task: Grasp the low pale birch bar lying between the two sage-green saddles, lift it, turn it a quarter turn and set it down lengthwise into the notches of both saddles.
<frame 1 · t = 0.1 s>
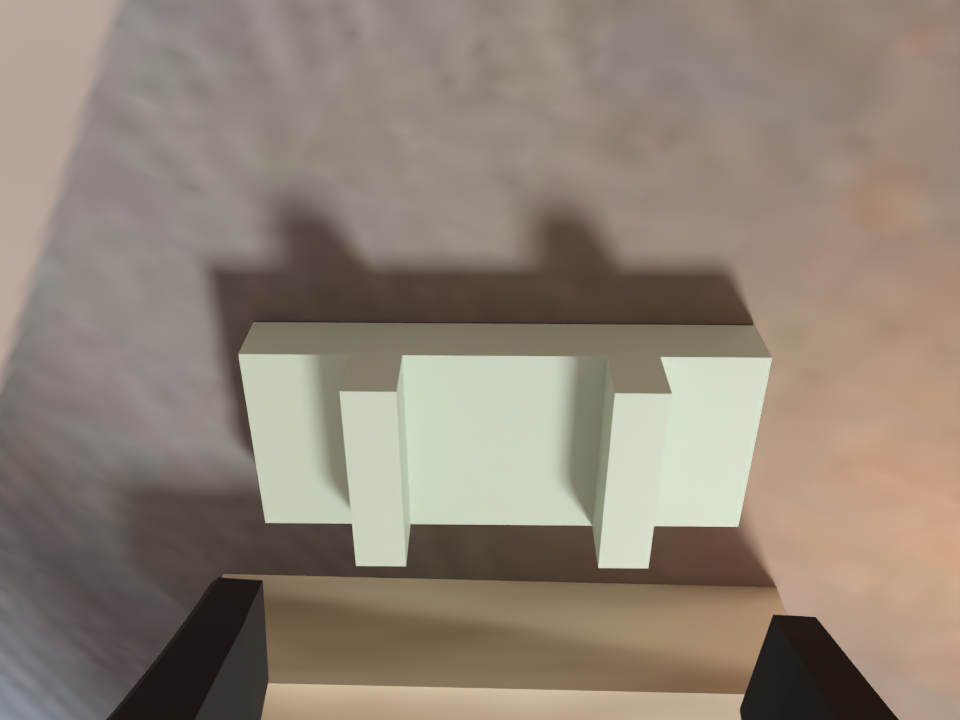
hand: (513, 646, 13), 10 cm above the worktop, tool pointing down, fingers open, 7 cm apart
bar: (498, 610, 27), on the worktop
stand: (498, 618, 27), on the worktop
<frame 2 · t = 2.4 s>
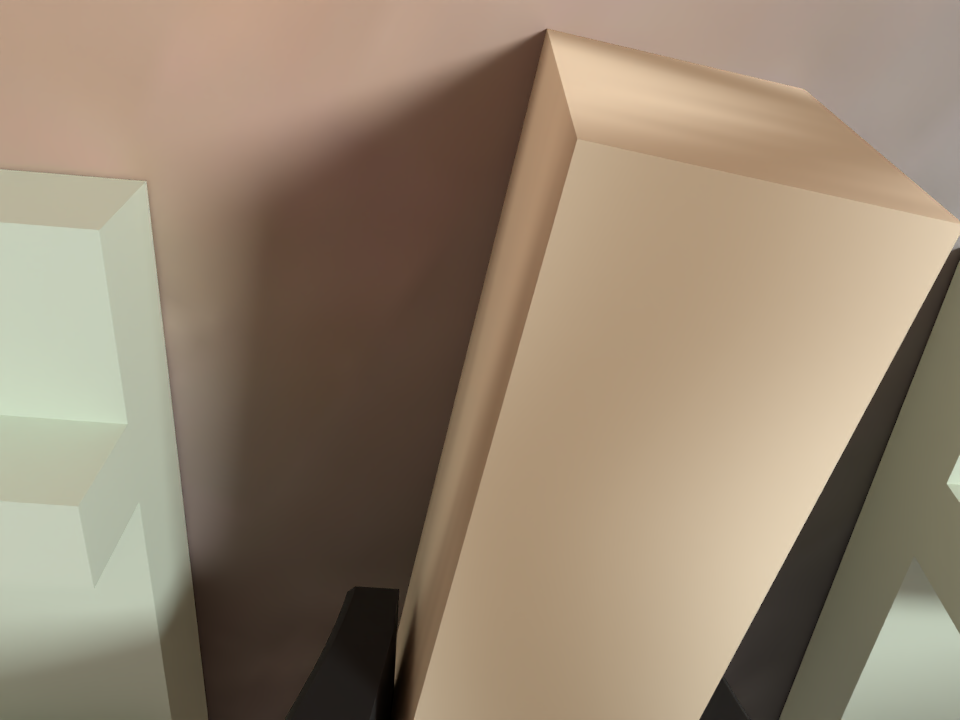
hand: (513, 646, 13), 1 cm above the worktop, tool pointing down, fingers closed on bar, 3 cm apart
bar: (510, 572, 14), on the worktop, touching gripper
stand: (512, 575, 14), on the worktop
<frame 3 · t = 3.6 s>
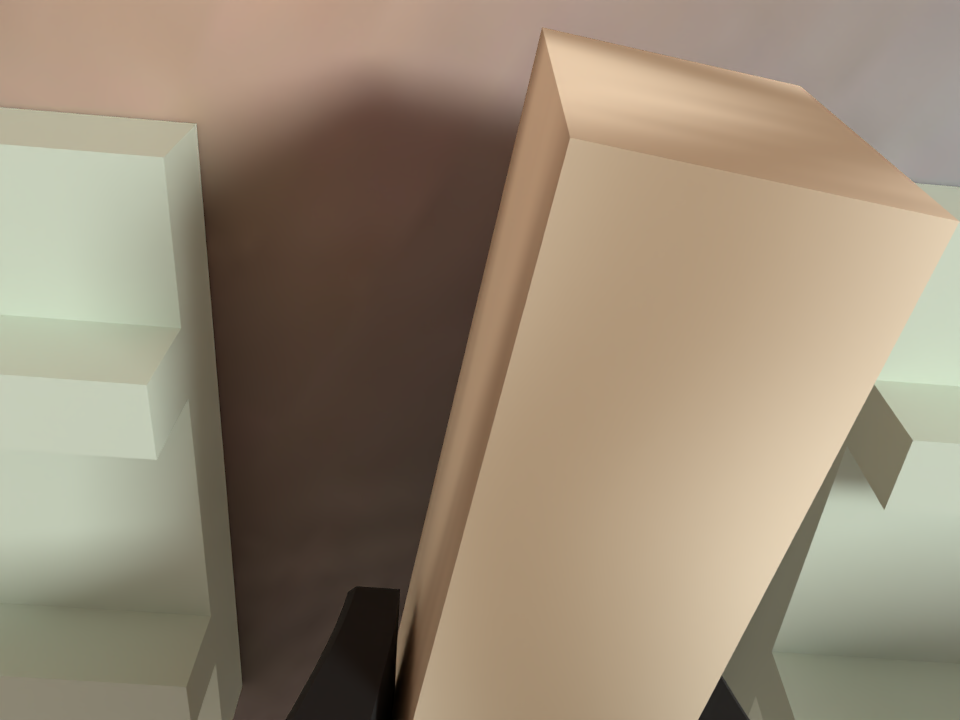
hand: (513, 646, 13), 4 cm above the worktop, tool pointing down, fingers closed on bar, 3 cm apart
bar: (510, 572, 14), point 2 cm above the worktop, touching gripper
stand: (505, 479, 16), on the worktop
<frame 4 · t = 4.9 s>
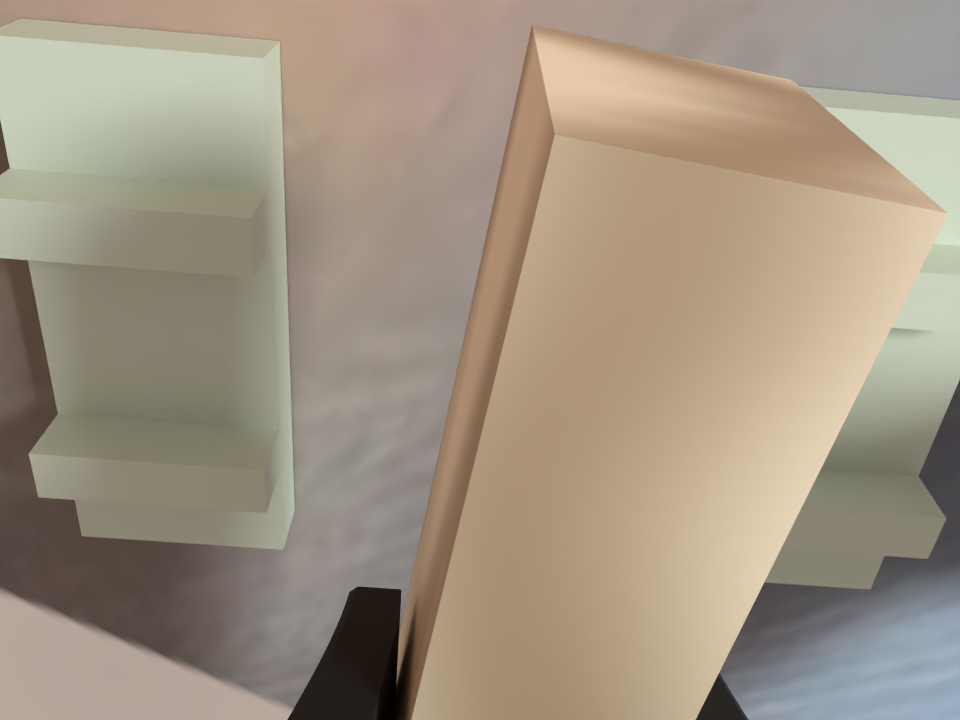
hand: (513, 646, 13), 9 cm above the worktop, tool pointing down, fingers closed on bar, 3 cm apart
bar: (510, 571, 14), point 8 cm above the worktop, touching gripper
stand: (504, 327, 21), on the worktop
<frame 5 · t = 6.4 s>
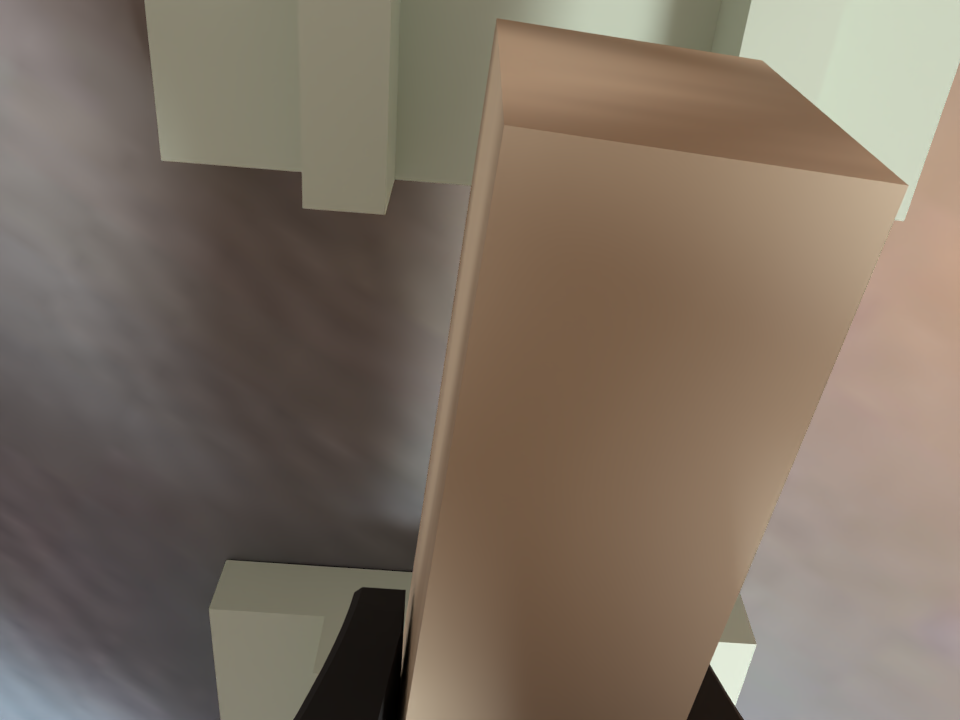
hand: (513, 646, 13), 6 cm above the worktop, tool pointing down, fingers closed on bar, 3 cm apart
bar: (510, 567, 14), point 5 cm above the worktop, touching gripper
stand: (506, 398, 18), on the worktop
when the fingers open (4 cm above the worktop, at t = 7.6 s): bar stays where it is, resting on stand.
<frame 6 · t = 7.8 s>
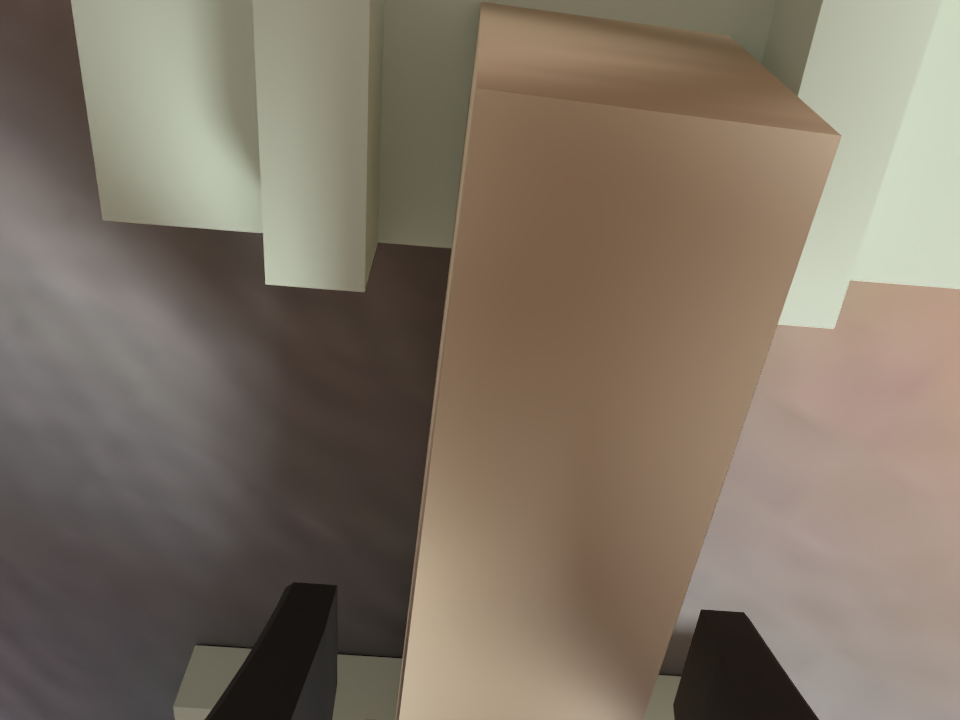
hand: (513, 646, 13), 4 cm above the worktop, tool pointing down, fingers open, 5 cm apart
bar: (510, 526, 15), point 1 cm above the worktop, touching stand
stand: (508, 475, 16), on the worktop
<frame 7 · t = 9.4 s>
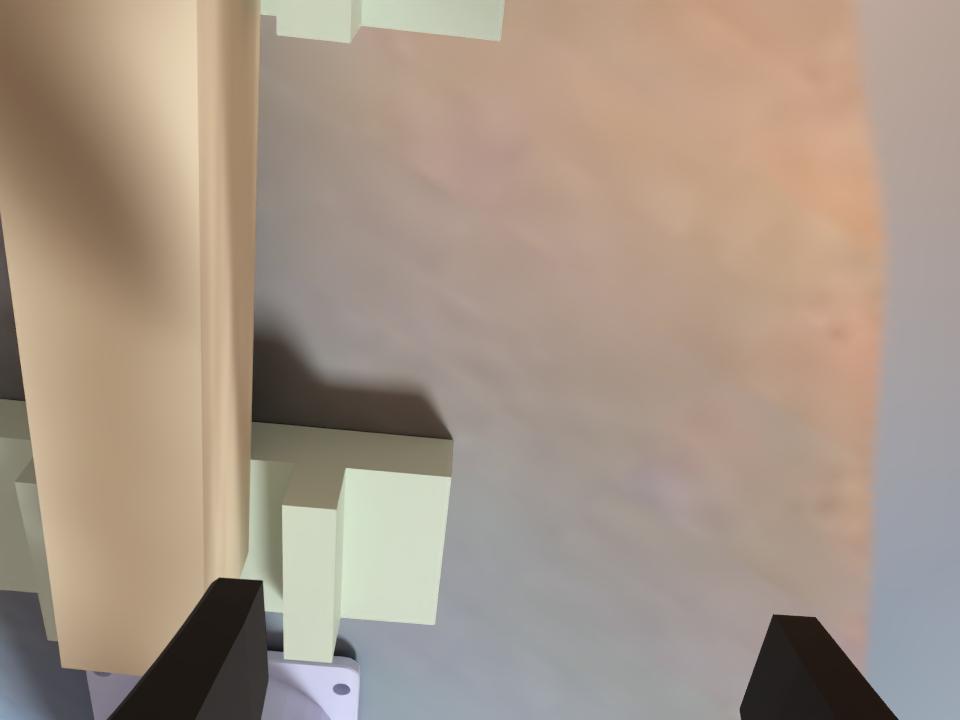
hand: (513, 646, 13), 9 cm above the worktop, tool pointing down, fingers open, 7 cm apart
bar: (181, 255, 18), point 1 cm above the worktop, touching stand
stand: (202, 232, 20), on the worktop
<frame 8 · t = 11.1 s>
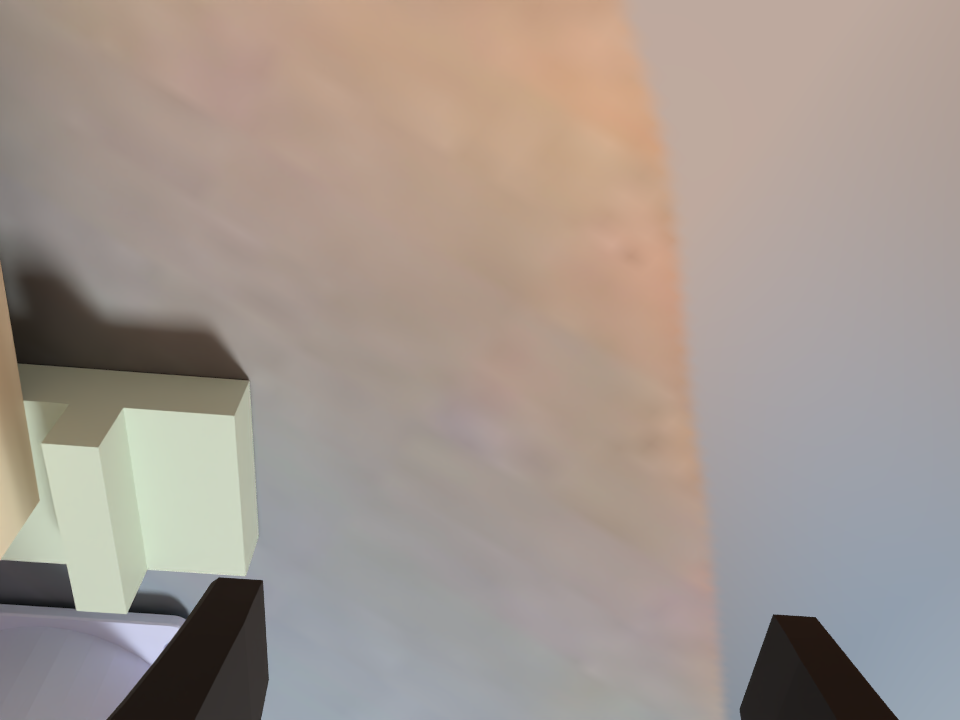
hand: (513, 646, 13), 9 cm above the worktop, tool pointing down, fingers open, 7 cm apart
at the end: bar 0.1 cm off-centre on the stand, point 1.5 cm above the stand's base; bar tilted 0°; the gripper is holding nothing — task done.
